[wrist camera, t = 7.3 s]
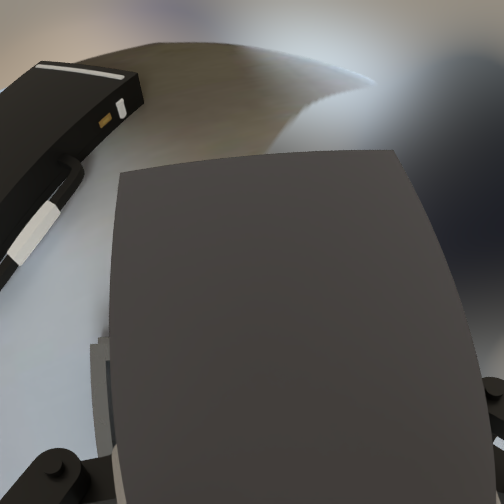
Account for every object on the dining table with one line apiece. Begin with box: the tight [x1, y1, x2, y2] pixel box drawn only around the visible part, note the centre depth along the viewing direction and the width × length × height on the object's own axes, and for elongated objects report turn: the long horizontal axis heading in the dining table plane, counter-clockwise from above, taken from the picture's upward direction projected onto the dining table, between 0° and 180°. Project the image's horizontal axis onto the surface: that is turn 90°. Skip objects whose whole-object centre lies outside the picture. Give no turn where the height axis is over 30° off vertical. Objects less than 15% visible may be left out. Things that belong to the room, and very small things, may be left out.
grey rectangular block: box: [109, 150, 496, 504], centre depth 8 cm, size 7×4×12 cm, turn 9°
